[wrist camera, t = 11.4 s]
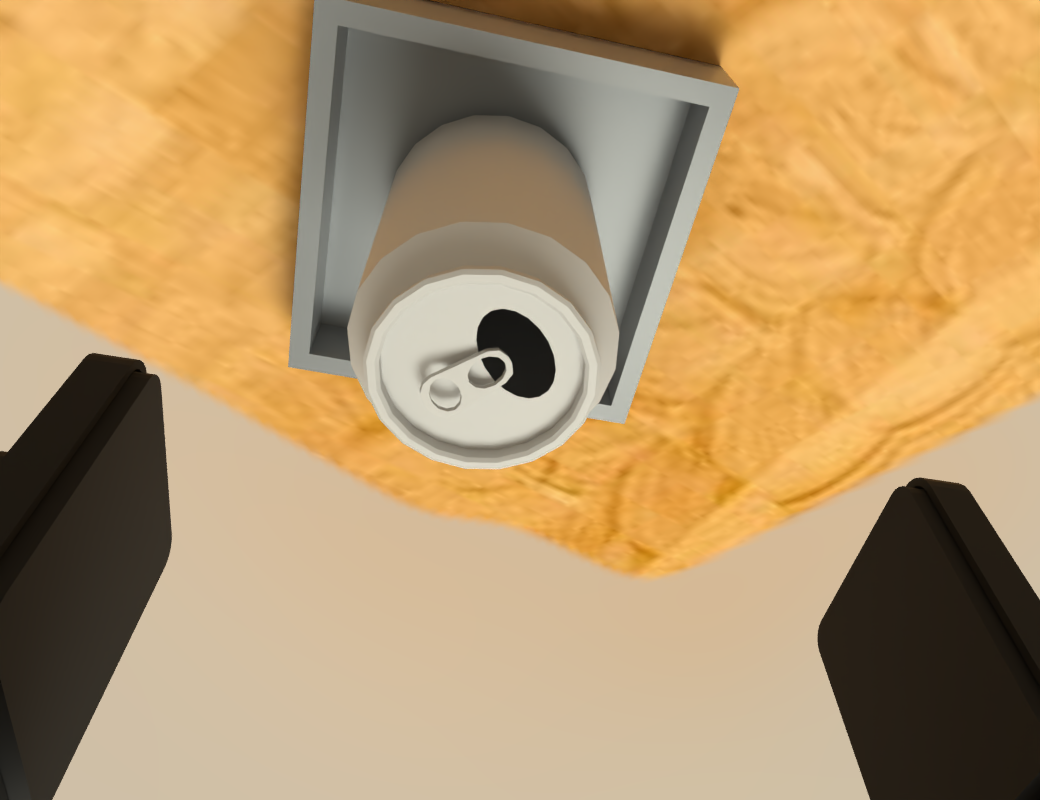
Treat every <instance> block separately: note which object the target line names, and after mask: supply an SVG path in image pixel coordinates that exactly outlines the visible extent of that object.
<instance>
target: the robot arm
mask: <svg viewBox="0 0 1040 800" xmlns="http://www.w3.org/2000/svg"><path fill="white" fill-rule="evenodd" d="M171 540H172V532H171V519H170V504H169V490H168V476H167V463H166V448H165V435H164V422H163V408H162V394H161V383H160V379H159V377H158V376H157V375H155V374H148V373H146V367H145V365H144V363H143V362H142V361H140V360H136V359H129V358H122V357H116V356H109V355H103V354H96V353H92V354H89V355H87V356H86V357H85V358H84V359H83V360H82V362H81V363H80V364H79V365H78V367H77V368H76V369H75V370H74V372H73V373H72V374H71V375H70V377H69V378H68V379H67V380H66V381H65V382H64V384H63V385H62V386H61V388H60V389H59V390H58V391H57V392H56V394H55V395H54V396H53V397H52V398H51V400H50V401H49V402H48V404H47V405H46V406H45V407H44V408H43V409H42V411H41V412H40V413H39V415H38V416H37V417H36V418H35V419H34V421H33V422H32V423H31V424H30V425H29V427H28V428H27V429H26V430H25V432H24V433H23V434H22V435H21V437H20V438H19V439H18V440H17V442H16V443H15V444H14V445H13V446H12V448H11V449H10V450H9V451H8V452H4V451H0V800H52V799H53V797H54V795H55V793H56V791H57V789H58V787H59V785H60V783H61V780H62V778H63V776H64V774H65V772H66V770H67V768H68V766H69V764H70V762H71V760H72V757H73V756H74V754H75V752H76V749H77V747H78V745H79V743H80V741H81V739H82V737H83V735H84V733H85V731H86V729H87V727H88V725H89V723H90V720H91V719H92V716H93V714H94V712H95V710H96V708H97V706H98V704H99V702H100V700H101V698H102V696H103V694H104V692H105V689H106V687H107V685H108V683H109V681H110V679H111V677H112V675H113V673H114V671H115V669H116V667H117V665H118V662H119V661H120V659H121V657H122V654H123V652H124V650H125V648H126V646H127V644H128V642H129V640H130V638H131V636H132V633H133V632H134V630H135V628H136V625H137V623H138V621H139V619H140V617H141V615H142V613H143V611H144V609H145V607H146V605H147V603H148V601H149V599H150V597H151V595H152V592H153V590H154V588H155V586H156V584H157V582H158V580H159V578H160V576H161V574H162V572H163V569H164V567H165V565H166V563H167V560H168V557H169V553H170V548H171ZM818 647H819V652H820V654H821V657H822V660H823V663H824V666H825V669H826V672H827V675H828V678H829V681H830V684H831V687H832V689H833V692H834V695H835V698H836V701H837V704H838V707H839V710H840V713H841V715H842V719H843V722H844V724H845V727H846V730H847V733H848V736H849V739H850V742H851V745H852V748H853V750H854V754H855V757H856V759H857V762H858V765H859V768H860V771H861V774H862V777H863V780H864V783H865V786H866V789H867V791H868V794H869V797H870V800H1040V600H1039V598H1038V596H1037V595H1036V593H1035V592H1034V590H1033V589H1032V587H1031V586H1030V584H1029V583H1028V581H1027V579H1026V578H1025V576H1024V575H1023V573H1022V572H1021V570H1020V569H1019V567H1018V565H1017V564H1016V562H1015V561H1014V559H1013V558H1012V556H1011V555H1010V553H1009V551H1008V550H1007V548H1006V547H1005V545H1004V544H1003V542H1002V541H1001V539H1000V538H999V536H998V535H997V533H996V531H995V530H994V528H993V527H992V525H991V524H990V522H989V521H988V519H987V517H986V516H985V514H984V513H983V511H982V510H981V508H980V507H979V505H978V503H977V502H976V500H975V499H974V497H973V496H972V494H971V492H970V491H969V490H968V489H967V488H966V487H965V486H964V485H962V484H959V483H953V482H946V481H940V480H933V479H926V478H915V479H913V480H912V481H910V482H909V483H908V484H907V486H906V487H905V486H902V487H898V488H897V489H895V491H894V492H893V493H892V495H891V497H890V498H889V500H888V502H887V504H886V506H885V508H884V509H883V511H882V513H881V515H880V516H879V519H878V520H877V522H876V524H875V525H874V527H873V529H872V531H871V533H870V535H869V536H868V538H867V540H866V541H865V544H864V545H863V547H862V549H861V551H860V553H859V554H858V556H857V558H856V559H855V561H854V563H853V565H852V567H851V568H850V570H849V572H848V574H847V576H846V578H845V579H844V581H843V583H842V585H841V586H840V588H839V590H838V592H837V594H836V596H835V597H834V599H833V601H832V603H831V604H830V606H829V608H828V610H827V612H826V613H825V615H824V617H823V619H822V621H821V623H820V625H819V630H818Z"/></svg>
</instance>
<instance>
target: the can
mask: <svg viewBox="0 0 1040 800" xmlns="http://www.w3.org/2000/svg"><path fill="white" fill-rule="evenodd" d="M347 330H348V341H349V351H350V361H351V366H352V368H353V370H354V372H355V374H356V376H357V378H358V380H359V383H360V385H361V387H362V389H363V391H364V393H365V395H366V397H367V399H368V400H369V401H370V402H371V403H372V405H373V407H374V409H375V411H376V413H377V415H378V417H379V419H380V420H381V421H382V422H383V424H384V425H385V426H386V427H387V428H388V429H389V430H390V431H391V432H392V433H393V434H394V435H395V436H396V437H397V438H398V439H399V440H400V441H401V442H402V443H403V444H405V445H407V446H408V447H410V448H412V449H414V450H415V451H417V452H419V453H421V454H422V455H424V456H426V457H428V458H429V459H431V460H434V461H438V462H442V463H445V464H449V465H453V466H457V467H460V468H464V469H502V468H507V467H511V466H515V465H519V464H523V463H528V462H532V461H534V460H536V459H538V458H540V457H541V456H543V455H545V454H547V453H549V452H551V451H553V450H554V449H556V448H558V447H560V446H562V445H563V444H564V443H565V442H566V441H567V440H568V439H569V438H570V437H571V436H572V435H573V434H574V433H575V432H576V431H577V430H578V429H579V428H580V427H581V426H582V425H583V424H584V423H585V421H586V418H587V416H588V414H589V412H590V411H591V410H592V409H593V408H594V407H595V406H596V405H597V404H598V403H599V402H600V400H601V398H602V396H603V394H604V392H605V390H606V388H607V386H608V384H609V382H610V380H611V378H612V376H613V373H614V371H615V369H616V360H617V351H618V341H619V329H618V324H617V319H616V315H615V310H614V305H613V300H612V296H611V291H610V286H609V281H608V277H607V272H606V267H605V262H604V258H603V253H602V248H601V243H600V239H599V234H598V229H597V224H596V220H595V215H594V210H593V205H592V201H591V198H590V194H589V190H588V186H587V182H586V178H585V175H584V173H583V172H582V170H581V169H580V167H579V166H578V164H577V163H576V161H575V160H574V158H573V156H572V155H571V153H570V152H569V150H568V149H567V148H566V147H565V146H564V145H562V144H561V143H560V142H559V141H557V140H556V139H555V138H553V137H552V136H551V135H550V134H548V133H547V132H546V131H544V130H543V129H542V128H541V127H538V126H535V125H532V124H530V123H527V122H524V121H521V120H518V119H516V118H513V117H510V116H490V115H473V116H470V117H466V118H463V119H460V120H457V121H453V122H450V123H447V124H443V125H441V126H440V127H438V128H437V129H436V130H434V131H433V132H431V133H430V134H429V135H427V136H426V137H424V138H423V139H422V140H420V141H419V142H417V143H416V144H415V145H414V146H413V148H412V149H411V151H410V152H409V154H408V155H407V156H406V158H405V159H404V161H403V162H402V164H401V165H400V166H399V168H398V169H397V171H396V174H395V177H394V180H393V183H392V186H391V189H390V192H389V195H388V199H387V202H386V205H385V208H384V211H383V214H382V217H381V220H380V223H379V226H378V229H377V232H376V235H375V238H374V242H373V245H372V248H371V251H370V254H369V257H368V260H367V263H366V266H365V269H364V272H363V275H362V278H361V281H360V285H359V288H358V291H357V294H356V298H355V301H354V305H353V309H352V312H351V316H350V320H349V323H348V327H347Z"/></svg>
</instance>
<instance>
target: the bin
mask: <svg viewBox="0 0 1040 800" xmlns="http://www.w3.org/2000/svg"><path fill="white" fill-rule="evenodd" d="M738 91H739V87H738V86H737V85H736V84H735V83H734V81H733V80H732V79H731V78H730V77H729V76H728V74H727V73H726V72H725V71H724V70H723V68H722V67H721V66H718V65H713V64H709V63H704V62H700V61H695V60H691V59H687V58H682V57H678V56H673V55H669V54H664V53H660V52H656V51H651V50H647V49H642V48H638V47H634V46H629V45H625V44H620V43H616V42H611V41H607V40H603V39H598V38H594V37H589V36H585V35H580V34H576V33H572V32H567V31H563V30H558V29H554V28H550V27H545V26H541V25H536V24H532V23H527V22H523V21H519V20H514V19H510V18H505V17H501V16H496V15H492V14H488V13H483V12H479V11H474V10H470V9H465V8H461V7H457V6H452V5H448V4H443V3H439V2H435V1H430V0H314V13H313V27H312V41H311V55H310V69H309V83H308V97H307V111H306V125H305V139H304V153H303V167H302V181H301V196H300V210H299V224H298V238H297V252H296V266H295V280H294V294H293V308H292V322H291V336H290V350H289V364H288V367H292V368H298V369H304V370H310V371H316V372H322V373H327V374H333V375H339V376H345V377H351V378H357V376H356V374H355V372H354V370H353V368H352V366H351V361H350V351H349V341H348V330H347V327H348V323H349V320H350V316H351V312H352V309H353V305H354V301H355V298H356V294H357V291H358V288H359V285H360V281H361V278H362V275H363V272H364V269H365V266H366V263H367V260H368V257H369V254H370V251H371V248H372V245H373V242H374V238H375V235H376V232H377V229H378V226H379V223H380V220H381V217H382V214H383V211H384V208H385V205H386V202H387V199H388V195H389V192H390V189H391V186H392V183H393V180H394V177H395V174H396V171H397V169H398V168H399V166H400V165H401V164H402V162H403V161H404V159H405V158H406V156H407V155H408V154H409V152H410V151H411V149H412V148H413V146H414V145H415V144H416V143H417V142H419V141H420V140H422V139H423V138H424V137H426V136H427V135H429V134H430V133H431V132H433V131H434V130H436V129H437V128H438V127H440V126H441V125H443V124H447V123H450V122H453V121H457V120H460V119H463V118H466V117H470V116H473V115H490V116H510V117H513V118H516V119H518V120H521V121H524V122H527V123H530V124H532V125H535V126H538V127H541V128H542V129H543V130H544V131H546V132H547V133H548V134H550V135H551V136H552V137H553V138H555V139H556V140H557V141H559V142H560V143H561V144H562V145H564V146H565V147H566V148H567V149H568V150H569V152H570V153H571V155H572V156H573V158H574V160H575V161H576V163H577V164H578V166H579V167H580V169H581V170H582V172H583V173H584V175H585V178H586V182H587V186H588V190H589V194H590V198H591V201H592V205H593V210H594V215H595V220H596V224H597V229H598V234H599V239H600V243H601V248H602V253H603V258H604V262H605V267H606V272H607V277H608V281H609V286H610V291H611V296H612V300H613V305H614V310H615V315H616V319H617V324H618V329H619V341H618V351H617V360H616V369H615V371H614V373H613V376H612V378H611V380H610V382H609V384H608V386H607V388H606V390H605V392H604V394H603V396H602V398H601V400H600V402H599V403H598V404H597V405H596V406H595V407H594V408H593V409H592V410H591V411H590V412H589V414H588V416H587V418H592V419H598V420H604V421H610V422H616V423H622V424H624V423H625V420H626V417H627V414H628V412H629V409H630V406H631V403H632V400H633V397H634V394H635V391H636V388H637V385H638V382H639V380H640V377H641V374H642V371H643V368H644V365H645V362H646V359H647V356H648V353H649V350H650V347H651V345H652V342H653V339H654V336H655V333H656V330H657V327H658V324H659V321H660V318H661V315H662V313H663V310H664V307H665V304H666V301H667V298H668V295H669V292H670V289H671V286H672V283H673V280H674V278H675V275H676V272H677V269H678V266H679V263H680V260H681V257H682V254H683V251H684V248H685V246H686V243H687V240H688V237H689V234H690V231H691V228H692V225H693V222H694V219H695V216H696V213H697V211H698V208H699V205H700V202H701V199H702V196H703V193H704V190H705V187H706V184H707V181H708V179H709V176H710V173H711V170H712V167H713V164H714V161H715V158H716V155H717V152H718V149H719V146H720V144H721V141H722V138H723V135H724V132H725V129H726V126H727V123H728V120H729V117H730V114H731V112H732V109H733V106H734V103H735V100H736V97H737V94H738ZM357 379H358V378H357Z"/></svg>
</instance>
